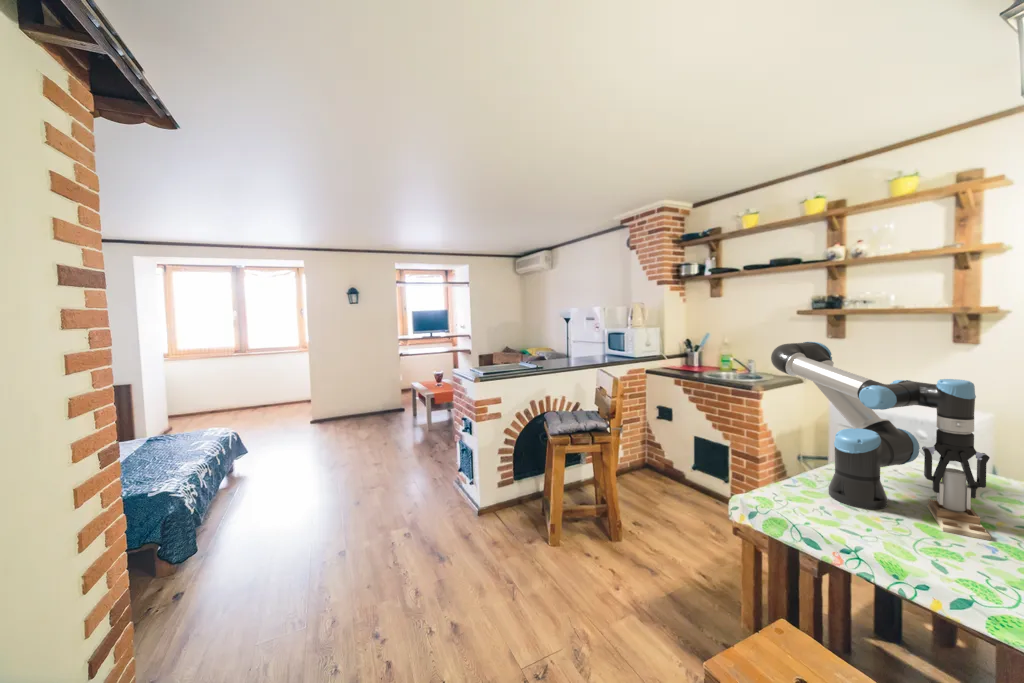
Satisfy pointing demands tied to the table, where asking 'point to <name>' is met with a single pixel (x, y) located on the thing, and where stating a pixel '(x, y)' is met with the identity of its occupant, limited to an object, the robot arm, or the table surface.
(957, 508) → the beverage can
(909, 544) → the table surface
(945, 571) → the table surface
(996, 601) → the table surface
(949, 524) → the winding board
